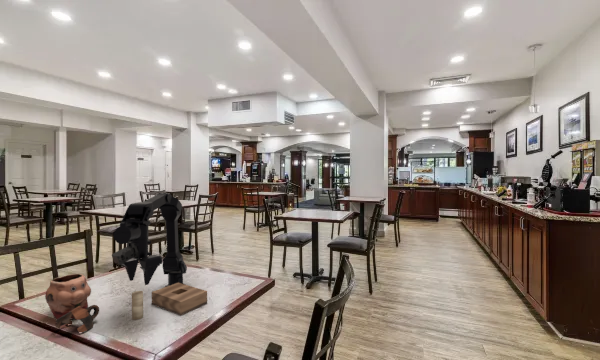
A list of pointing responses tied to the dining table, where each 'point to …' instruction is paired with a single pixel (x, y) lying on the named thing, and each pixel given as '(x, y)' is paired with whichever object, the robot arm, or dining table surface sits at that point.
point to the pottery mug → (79, 317)
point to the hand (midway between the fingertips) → (138, 282)
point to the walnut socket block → (179, 298)
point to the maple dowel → (137, 305)
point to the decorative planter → (67, 294)
